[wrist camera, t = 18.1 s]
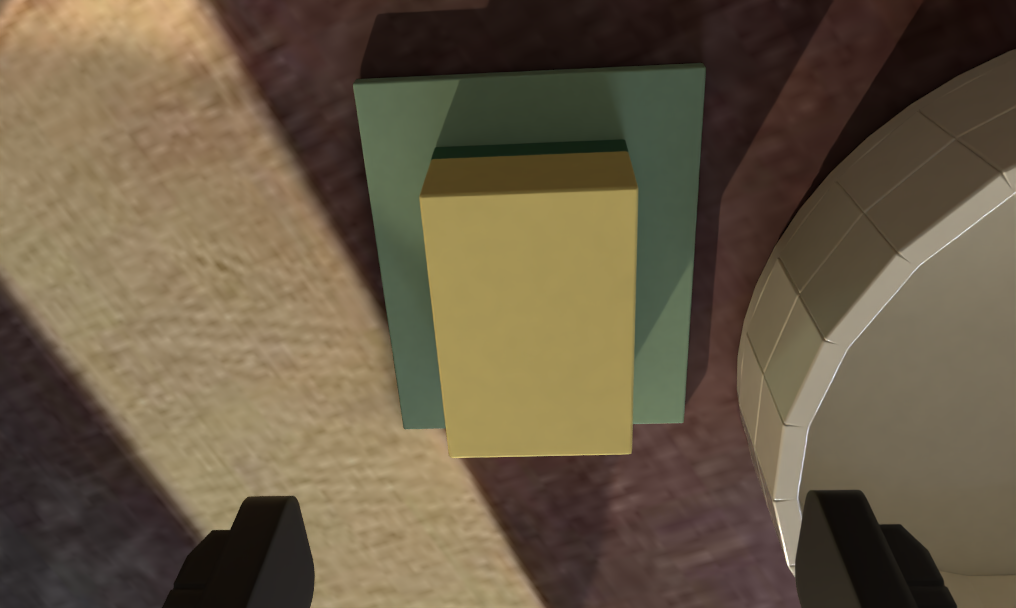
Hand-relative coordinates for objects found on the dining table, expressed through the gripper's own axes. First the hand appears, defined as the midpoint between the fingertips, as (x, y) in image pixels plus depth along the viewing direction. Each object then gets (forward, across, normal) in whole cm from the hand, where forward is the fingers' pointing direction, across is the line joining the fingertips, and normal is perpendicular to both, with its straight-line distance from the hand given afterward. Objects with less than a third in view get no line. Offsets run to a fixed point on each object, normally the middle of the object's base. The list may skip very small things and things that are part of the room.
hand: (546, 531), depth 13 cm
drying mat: (+10, 0, 0) cm, 10 cm away
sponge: (+9, 0, 0) cm, 9 cm away
